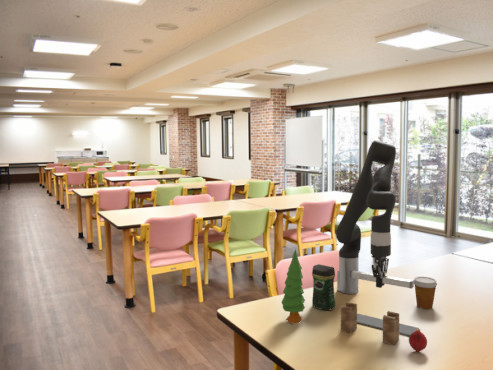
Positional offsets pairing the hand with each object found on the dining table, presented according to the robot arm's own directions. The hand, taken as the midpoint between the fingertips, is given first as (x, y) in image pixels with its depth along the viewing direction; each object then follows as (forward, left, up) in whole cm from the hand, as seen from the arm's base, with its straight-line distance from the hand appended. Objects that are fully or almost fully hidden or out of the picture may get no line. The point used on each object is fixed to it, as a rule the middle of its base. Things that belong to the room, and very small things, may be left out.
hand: (380, 286), depth 161 cm
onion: (+18, -14, -16) cm, 28 cm away
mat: (0, 0, -16) cm, 16 cm away
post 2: (+8, -11, -16) cm, 21 cm away
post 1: (-8, -11, -16) cm, 21 cm away
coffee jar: (-26, +4, -16) cm, 31 cm away
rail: (0, 0, +2) cm, 2 cm away
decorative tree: (-30, -16, -16) cm, 38 cm away
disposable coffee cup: (+10, +29, -16) cm, 34 cm away
